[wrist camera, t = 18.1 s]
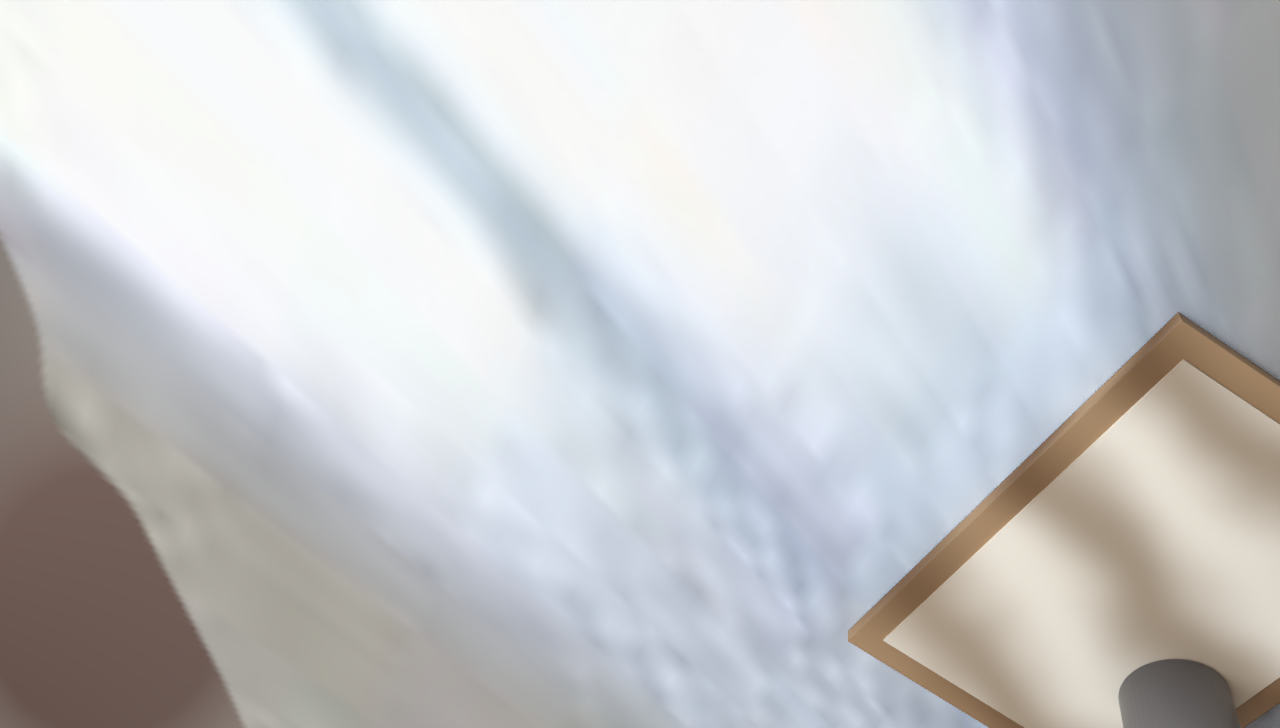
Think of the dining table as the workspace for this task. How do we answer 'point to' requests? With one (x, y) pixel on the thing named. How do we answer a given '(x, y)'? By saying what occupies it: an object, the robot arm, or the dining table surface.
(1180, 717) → the marker
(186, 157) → the dining table surface
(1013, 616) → the wooden picture frame
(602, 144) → the dining table surface
